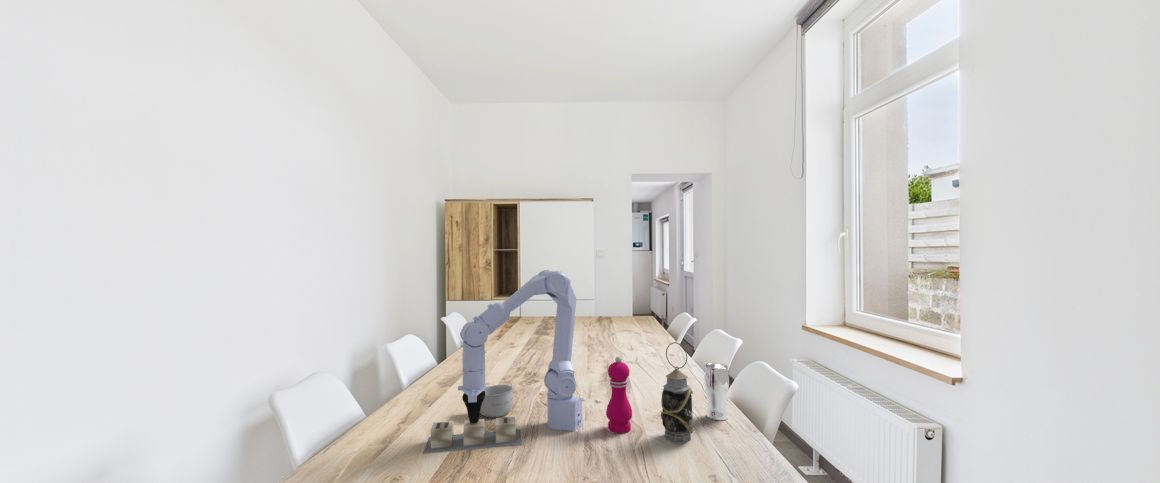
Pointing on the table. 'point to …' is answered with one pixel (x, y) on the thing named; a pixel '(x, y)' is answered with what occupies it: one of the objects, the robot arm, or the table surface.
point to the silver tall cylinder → (716, 390)
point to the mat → (459, 445)
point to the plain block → (474, 432)
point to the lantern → (677, 406)
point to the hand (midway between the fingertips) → (474, 421)
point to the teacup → (497, 401)
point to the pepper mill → (619, 398)
